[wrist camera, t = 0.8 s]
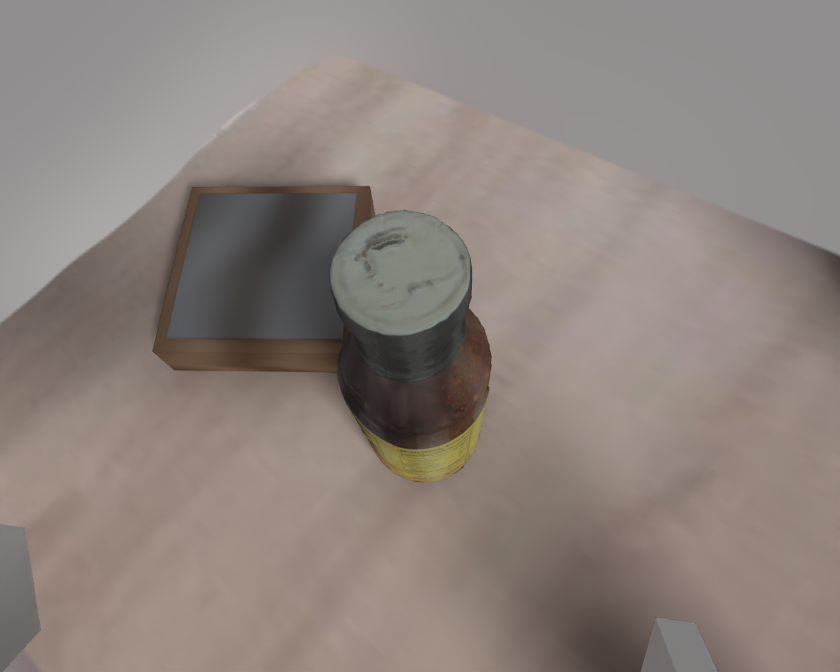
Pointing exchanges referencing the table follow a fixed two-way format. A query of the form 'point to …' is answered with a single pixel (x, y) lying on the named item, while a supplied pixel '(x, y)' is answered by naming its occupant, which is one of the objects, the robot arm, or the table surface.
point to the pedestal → (258, 279)
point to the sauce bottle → (411, 343)
